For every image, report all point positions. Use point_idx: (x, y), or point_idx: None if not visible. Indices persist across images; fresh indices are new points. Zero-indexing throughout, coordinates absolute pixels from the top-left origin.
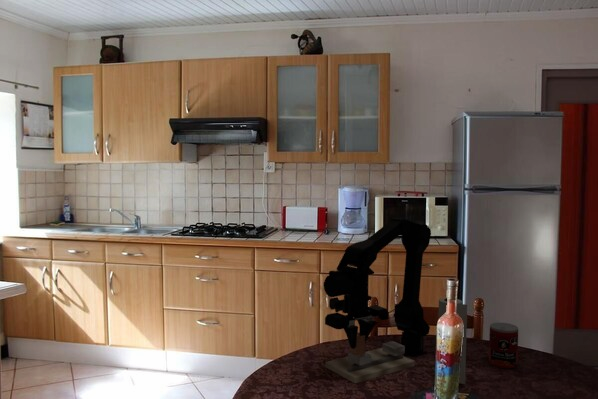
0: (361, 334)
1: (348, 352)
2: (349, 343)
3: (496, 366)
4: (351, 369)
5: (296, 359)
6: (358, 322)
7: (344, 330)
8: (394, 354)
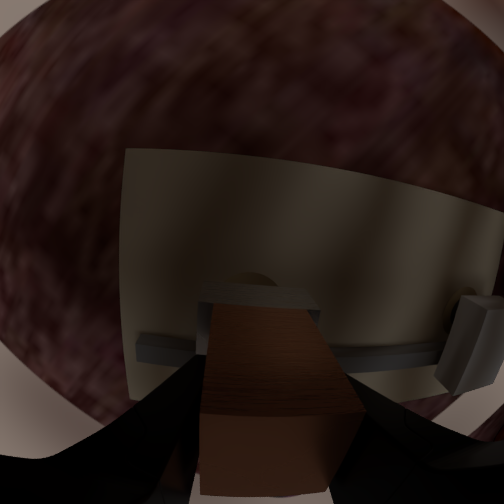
0: (319, 473)
1: (198, 305)
2: (178, 371)
3: (497, 434)
4: (150, 360)
5: (112, 3)
6: (472, 481)
7: (63, 451)
8: (437, 379)
